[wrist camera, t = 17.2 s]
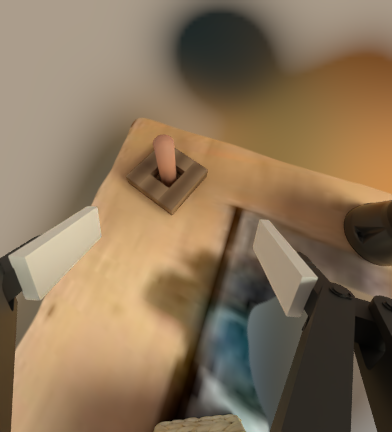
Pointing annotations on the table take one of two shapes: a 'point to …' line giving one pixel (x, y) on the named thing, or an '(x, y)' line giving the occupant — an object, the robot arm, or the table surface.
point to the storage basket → (203, 424)
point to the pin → (165, 159)
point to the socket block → (157, 191)
